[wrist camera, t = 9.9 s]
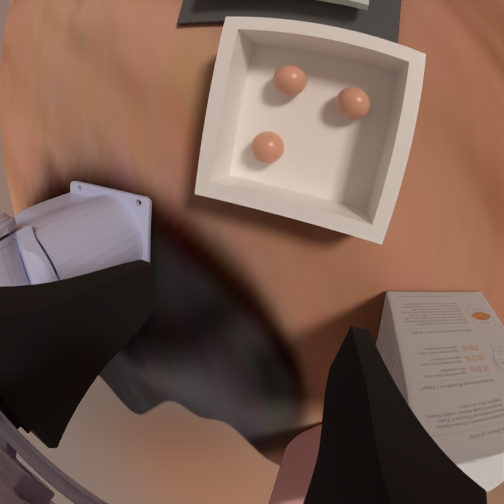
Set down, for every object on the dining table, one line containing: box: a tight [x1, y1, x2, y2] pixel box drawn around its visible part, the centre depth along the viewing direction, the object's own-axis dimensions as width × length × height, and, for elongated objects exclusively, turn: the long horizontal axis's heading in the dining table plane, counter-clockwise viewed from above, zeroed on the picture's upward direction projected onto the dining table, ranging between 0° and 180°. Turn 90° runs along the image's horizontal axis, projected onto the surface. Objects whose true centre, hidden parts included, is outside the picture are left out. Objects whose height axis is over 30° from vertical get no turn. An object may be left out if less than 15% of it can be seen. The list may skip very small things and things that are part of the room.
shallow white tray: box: [195, 17, 426, 245], centre depth 13 cm, size 10×10×4 cm
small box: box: [376, 291, 504, 492], centre depth 12 cm, size 8×6×13 cm
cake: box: [269, 424, 322, 504], centre depth 19 cm, size 20×20×14 cm
